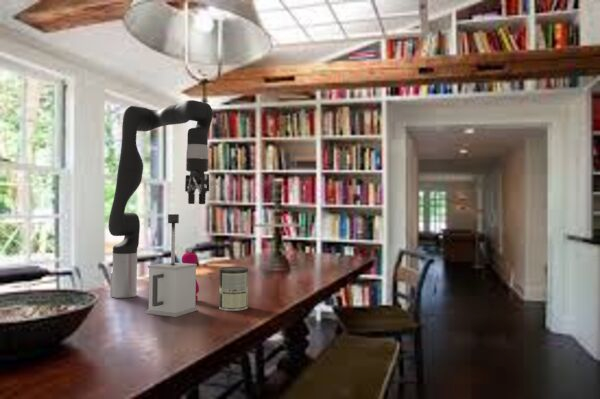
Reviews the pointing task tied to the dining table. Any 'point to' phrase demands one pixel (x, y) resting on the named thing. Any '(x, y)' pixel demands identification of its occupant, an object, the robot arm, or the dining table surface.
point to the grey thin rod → (173, 234)
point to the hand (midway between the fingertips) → (196, 204)
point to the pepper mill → (191, 259)
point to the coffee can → (233, 288)
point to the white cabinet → (172, 289)
